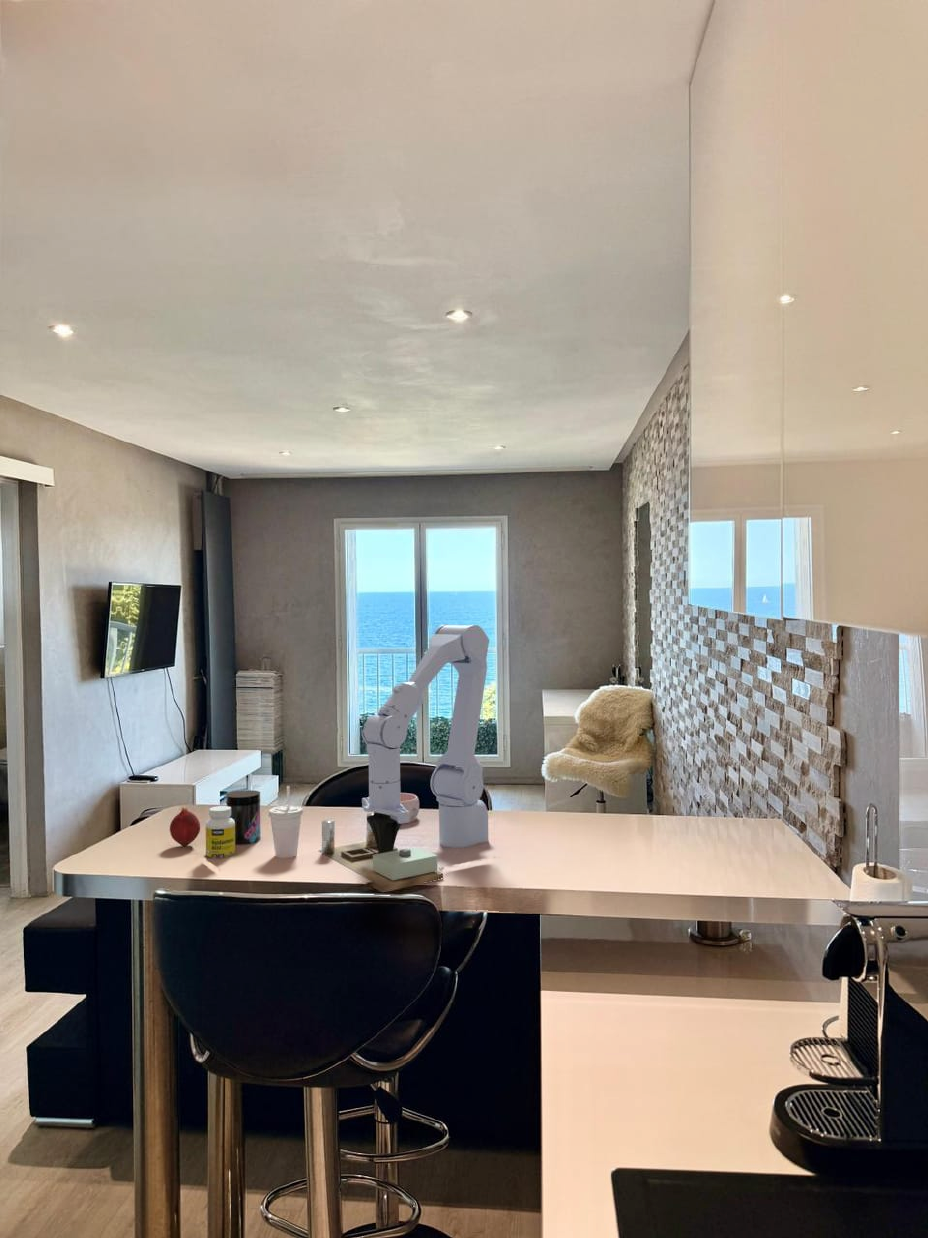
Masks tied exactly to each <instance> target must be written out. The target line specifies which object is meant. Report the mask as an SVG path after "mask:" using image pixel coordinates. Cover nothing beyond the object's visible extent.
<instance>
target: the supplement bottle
mask: <svg viewBox="0 0 928 1238" xmlns="http://www.w3.org/2000/svg"><path fill="white" fill-rule="evenodd" d="M208 815H209V817H210V818H209V819H207V821H206V823H205V860H206V861H207V862H209V863H212V861H211V860H210V859H224V858H229V857H232V856H234V855H235V854H236V845H235V821H234V820H233V819H232V818H230V816H231V807H228V806H226V805H218V806H213V807H210V808H209V813H208ZM208 858H209V859H208Z"/></svg>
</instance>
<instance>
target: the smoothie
mask: <svg viewBox="0 0 928 1238" xmlns="http://www.w3.org/2000/svg"><path fill="white" fill-rule="evenodd" d="M290 787H291V786H289V785H288V786H286V805H281V806H274V807H272V808H270V809H268V817H269V818H270V823H271V830H272V831H271V832H272V836H273V837H272V840H273V845H274V853H275V857H276V858H278V859H279V858H280V859H290V858H294V857H296V856H297V855H298V849H299V839H300V829H301V821H302V816H303V814H304V811H303V807H302V806H298V805H291V796H290V795H291V788H290Z"/></svg>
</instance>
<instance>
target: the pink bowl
mask: <svg viewBox="0 0 928 1238" xmlns="http://www.w3.org/2000/svg"><path fill="white" fill-rule="evenodd" d="M400 801H401V804H402V805H403V807H404V808H405V809H406V810H407V811H409V821H410V822H407V823H406V824H409V823H412V822H415V821H416V820H417V817H418V814H419V812H420V800H419V797H418V796H417V795H416V794H414V793H407V792H400ZM403 824H405V823H402V825H403Z"/></svg>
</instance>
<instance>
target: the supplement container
mask: <svg viewBox="0 0 928 1238" xmlns="http://www.w3.org/2000/svg"><path fill="white" fill-rule="evenodd" d="M225 806H228V807H231V816H230V818H232V819H233V820H234V821H235V846H236V845H237V846H240V845H241V846H242V845H243V846H245V845H251V844H255V843H258V842H259V841H261V840H262V837H261V836H262V835H261V833H262V832H261V830H262V829H261V792H260V791H259V790H254V789H253V790H251V789H245V790H244V789H243V790H235V791H230V792H227V793H226V794H225Z"/></svg>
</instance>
